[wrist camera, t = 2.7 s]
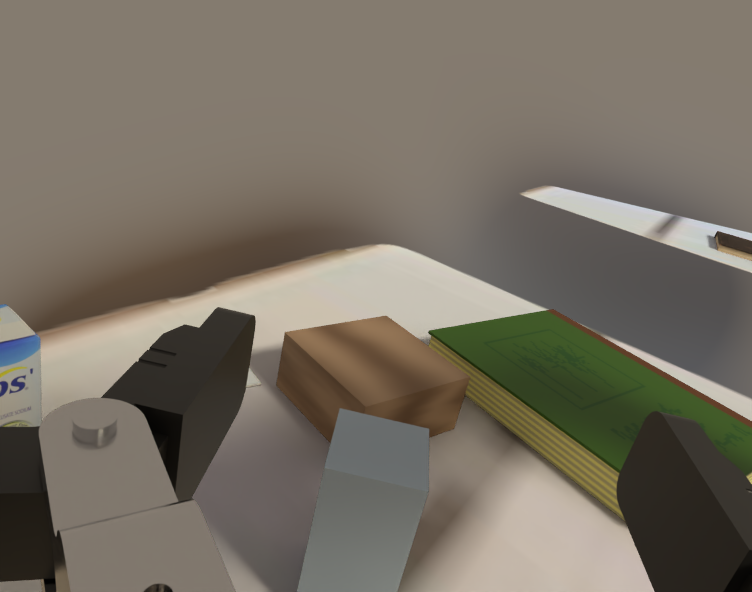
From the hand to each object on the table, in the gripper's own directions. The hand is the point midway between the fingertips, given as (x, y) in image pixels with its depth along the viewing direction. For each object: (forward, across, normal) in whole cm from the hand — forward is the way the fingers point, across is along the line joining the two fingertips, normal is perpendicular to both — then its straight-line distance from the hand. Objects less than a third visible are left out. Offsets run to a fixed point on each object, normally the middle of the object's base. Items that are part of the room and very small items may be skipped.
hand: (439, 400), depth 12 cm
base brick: (+28, +1, +20) cm, 34 cm away
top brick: (+12, 0, +19) cm, 23 cm away
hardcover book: (+35, -18, +20) cm, 44 cm away
